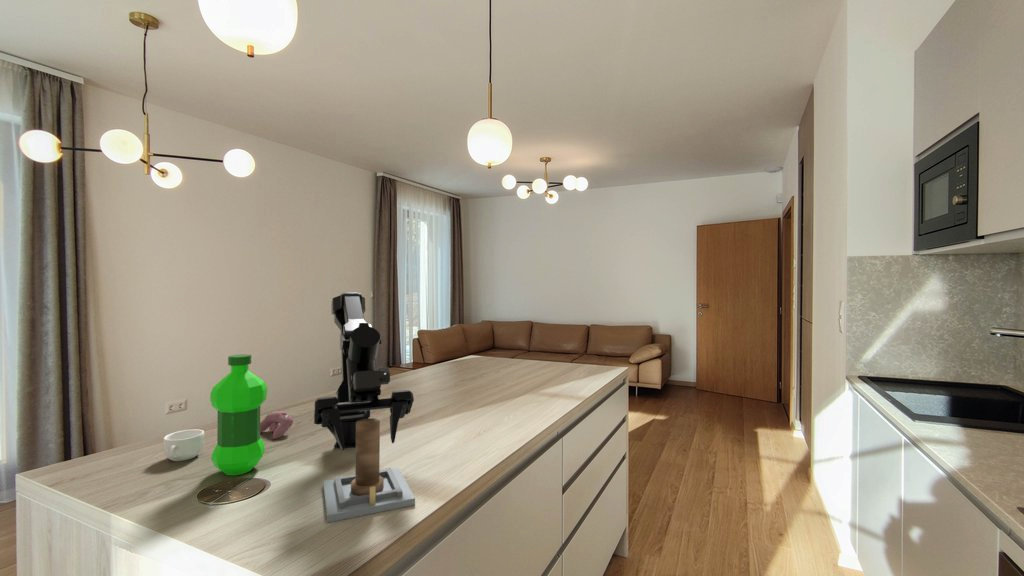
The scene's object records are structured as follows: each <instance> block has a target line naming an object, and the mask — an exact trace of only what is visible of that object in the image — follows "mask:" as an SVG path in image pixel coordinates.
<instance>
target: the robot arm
mask: <svg viewBox="0 0 1024 576" xmlns="http://www.w3.org/2000/svg"><path fill="white" fill-rule="evenodd" d="M330 307H331V311H330V313H331V315H333V322H334V324H335V325H336V326H337V327H338V329H339V330H340V334H339V348H340V352H341V353H340V354H341V356H340V357H341V359H340V361H341V383H340V385H339V386H338V388H337V391H336V392H337V393H336V392H335V395H334V396H326V397H325V396H324V397H317V398H316V400H314V405H313V406H314V408H313V409H314V410H313V422H314V425H321V427H322V428H327V429H328V430H329V432H330V433H331V434H332V435H333V437H334V439H335V444H334V445H333V447H334V448H339V449H340V450H341V451H344V450H345V448H347V447H348V448H352V447H353V448H356V422H357V421H359V420H362V419H369V418H370V417H371V411H374V410H375V411H377V410H383V409H384V410H386V409H389V412H390V415H389V426H390V427H389V430H390V434H389V435H390V441H391V444H395V441H396V435H397V430H398V424H399V420H401V419H403V418H404V417H405V415H408V414H410V413H411V409H412V407H413V403H414V401H415V399H414V394H413V391H411V390H410V389H403V390H402V389H401V390H392V393H391V396H390V398H389V397H388V398H380V397H379V396H381V394H382V390H381V387H382V385H383V386H384V385H389V383H390V382H391V373H390V367H389V366H384V367H379V369H378V370H377V369H376V365H375V360H376V359H377V357H378V350H379V347H380V345H382V338H381V334H380V333H379V331H378V330H377V329H376V328H374V327H373V326H372V324H371V323H369V322H367V321H365V316H364V314H365V312H366V298H365V297H364V296H363V295H362V293H360V292H357V291H356V292H353V291H352V292H348V291H347V292H341V293H340V295H337V296H335V297H332V299H331V306H330Z"/></svg>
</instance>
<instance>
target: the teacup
mask: <svg viewBox="0 0 1024 576" xmlns="http://www.w3.org/2000/svg"><path fill="white" fill-rule="evenodd" d="M162 443H163V444H162V445H163V452H164V455H165V457H167V459H168V460H170V461H172V462H183V461H189V460H191V459H193V458H195V457H196V456H198V455H199V454H200V453H201V452H202V450H203V448H204V446H205V445H204V443H205V430H203V429H195V428H194V429H183V430H178V431H175V432H172V433H167V435H165V436H164V437H163V440H162Z"/></svg>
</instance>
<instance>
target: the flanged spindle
mask: <svg viewBox="0 0 1024 576" xmlns="http://www.w3.org/2000/svg"><path fill="white" fill-rule="evenodd" d="M380 423H381V422H380V419H378V418H370V417H369V418H368V419H362V420H359V421H357V422H356V447H355V474H354V475H355V479H354V480H353V481H352V482H351V493H352V494H353V495H356V496H362V495H367V494H370V487H372V486H374V487H375V493H378V492H380V491H382V490H383V488H384V479H383V477H382V476H379V471H380V458H381V457H380V454H381V453H380V449H381V448H380V443H381V442H380V440H381V437H380V433H381V429H380V428H381V425H380Z"/></svg>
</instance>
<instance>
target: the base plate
mask: <svg viewBox="0 0 1024 576" xmlns="http://www.w3.org/2000/svg"><path fill="white" fill-rule="evenodd" d="M379 476H382V477H383V479H384V488H383V490H382V491H380V492H378V493H375V487H374V486H372V487H370V494H367V495H362V496H356V495H353V494H352V493H351V482H352V481H353V480H354V479H355V474H350V475H345V476H340V475H339V476H334V478H332V479H327V480H322V481H323V482H322V483H323V484H322V485H323V486H322V487H323V495H324V496H323V497H324V505H325V512H326V521H327V523H332V522H337V521H342V520H348V519H352V518H357V517H361V516H367V515H372V514H376V513H381V512H386V511H391V510H395V509H401V508H406V507H409V506H415V505H416V497H415V495H414V494H413V492H412V490H411V488H410V486H409V484H408V483H407V480H406V479H405V477H404V475H403V473H402V471H401V470H400V468H399V467H398V468H393V469H392V468H391V467H388V468H385V469H381V470H380V469H379Z"/></svg>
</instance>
